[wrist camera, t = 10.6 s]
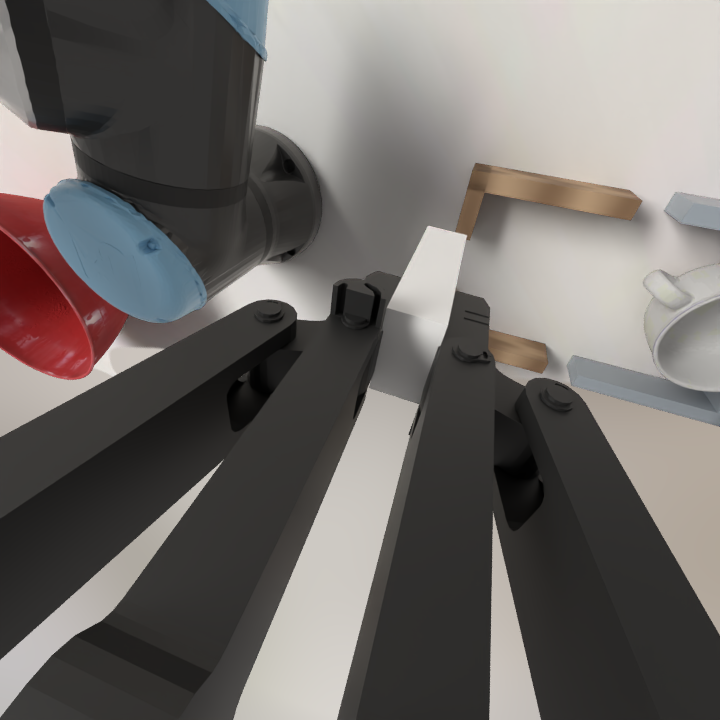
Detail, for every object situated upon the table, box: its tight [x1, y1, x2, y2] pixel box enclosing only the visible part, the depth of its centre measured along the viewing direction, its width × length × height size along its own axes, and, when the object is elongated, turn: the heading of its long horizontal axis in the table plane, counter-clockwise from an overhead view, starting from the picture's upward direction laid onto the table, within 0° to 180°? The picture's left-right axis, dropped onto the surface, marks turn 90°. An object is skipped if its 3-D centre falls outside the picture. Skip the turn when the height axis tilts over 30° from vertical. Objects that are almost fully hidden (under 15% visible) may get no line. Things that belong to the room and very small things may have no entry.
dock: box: [567, 192, 720, 427], centre depth 35 cm, size 16×20×4 cm
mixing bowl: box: [0, 193, 129, 380], centre depth 54 cm, size 28×28×16 cm
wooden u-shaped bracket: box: [455, 163, 642, 374], centre depth 38 cm, size 14×19×4 cm
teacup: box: [643, 263, 720, 392], centre depth 32 cm, size 14×11×8 cm
